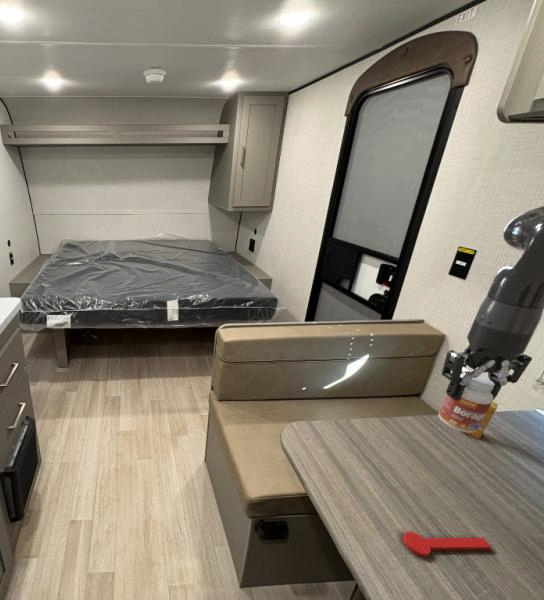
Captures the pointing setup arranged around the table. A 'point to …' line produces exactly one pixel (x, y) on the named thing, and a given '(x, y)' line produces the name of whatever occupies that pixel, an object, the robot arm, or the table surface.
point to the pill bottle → (468, 405)
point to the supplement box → (484, 421)
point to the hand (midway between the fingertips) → (469, 397)
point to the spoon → (442, 544)
